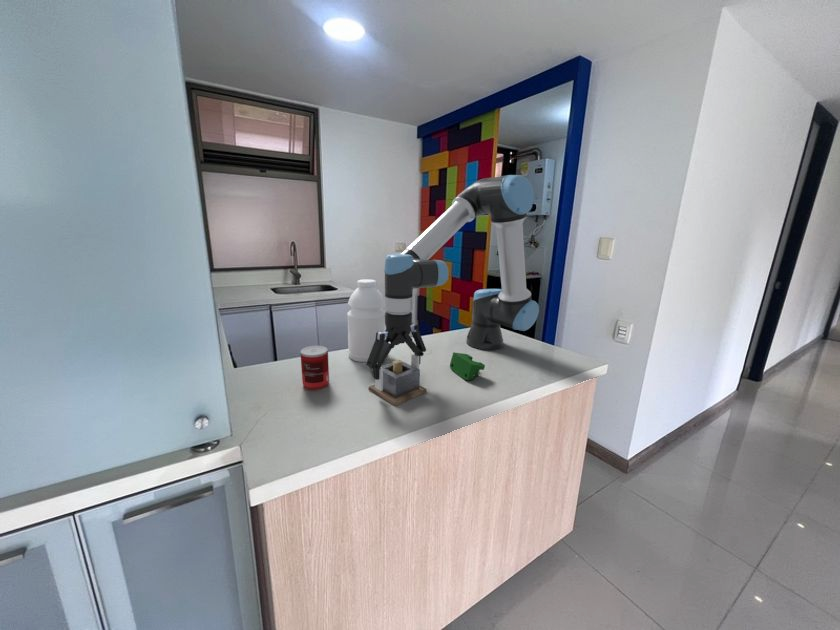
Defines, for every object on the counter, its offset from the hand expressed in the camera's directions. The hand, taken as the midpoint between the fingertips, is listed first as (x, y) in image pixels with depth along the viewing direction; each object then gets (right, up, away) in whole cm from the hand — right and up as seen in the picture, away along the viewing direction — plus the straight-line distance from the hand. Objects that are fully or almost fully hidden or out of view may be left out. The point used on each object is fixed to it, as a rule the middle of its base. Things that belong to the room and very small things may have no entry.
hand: (397, 381), depth 98 cm
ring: (0, -2, 0) cm, 2 cm away
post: (0, -3, +1) cm, 3 cm away
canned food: (-25, -2, +3) cm, 25 cm away
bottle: (-13, +4, +26) cm, 30 cm away
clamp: (+22, 0, +14) cm, 26 cm away
